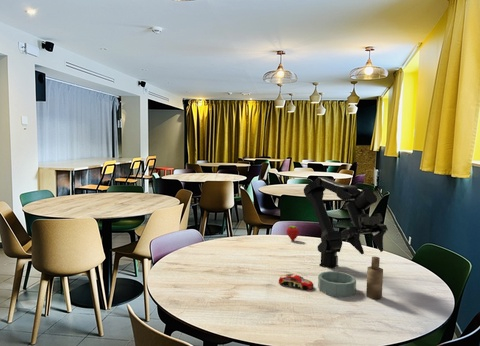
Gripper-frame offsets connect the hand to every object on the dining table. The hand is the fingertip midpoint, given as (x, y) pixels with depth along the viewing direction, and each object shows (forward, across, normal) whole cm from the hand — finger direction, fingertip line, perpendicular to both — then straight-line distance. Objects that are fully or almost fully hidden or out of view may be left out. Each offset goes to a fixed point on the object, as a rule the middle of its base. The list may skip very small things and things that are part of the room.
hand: (372, 252), depth 135 cm
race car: (+5, -26, +17) cm, 31 cm away
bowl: (+9, -14, +10) cm, 19 cm away
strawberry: (-28, +7, +63) cm, 70 cm away
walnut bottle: (+15, -6, +2) cm, 16 cm away
